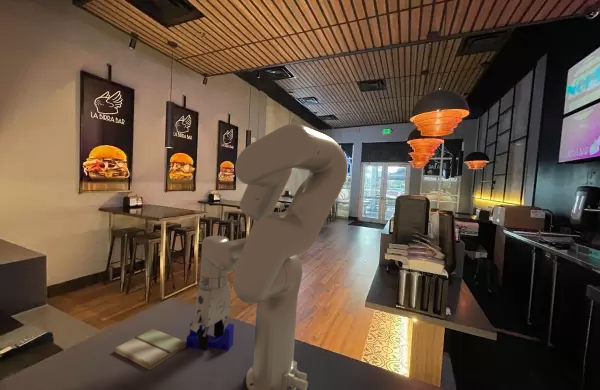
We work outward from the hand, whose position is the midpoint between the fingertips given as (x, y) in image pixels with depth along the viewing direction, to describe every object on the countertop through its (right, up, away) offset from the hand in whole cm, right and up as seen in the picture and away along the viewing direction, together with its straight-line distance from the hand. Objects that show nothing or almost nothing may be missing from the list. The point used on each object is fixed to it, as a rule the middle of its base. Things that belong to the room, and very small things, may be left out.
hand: (211, 341), depth 76 cm
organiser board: (-15, 0, -3) cm, 16 cm away
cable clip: (0, -1, 0) cm, 1 cm away
